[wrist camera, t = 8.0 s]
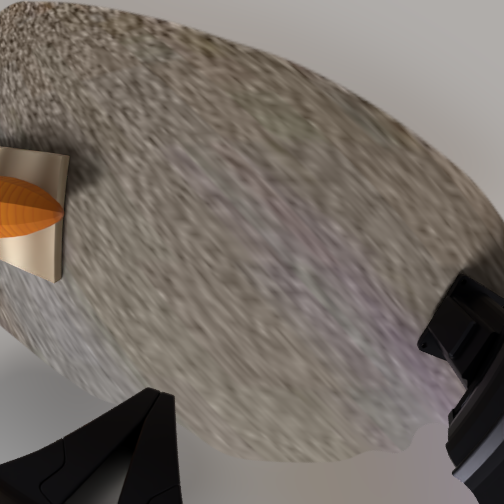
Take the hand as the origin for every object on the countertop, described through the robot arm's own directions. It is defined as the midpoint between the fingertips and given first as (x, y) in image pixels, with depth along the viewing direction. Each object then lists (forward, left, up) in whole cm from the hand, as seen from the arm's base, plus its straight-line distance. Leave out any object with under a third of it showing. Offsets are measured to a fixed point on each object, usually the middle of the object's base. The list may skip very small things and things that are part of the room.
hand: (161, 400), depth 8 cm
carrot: (+11, 0, -10) cm, 15 cm away
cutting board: (+21, +4, -13) cm, 25 cm away
